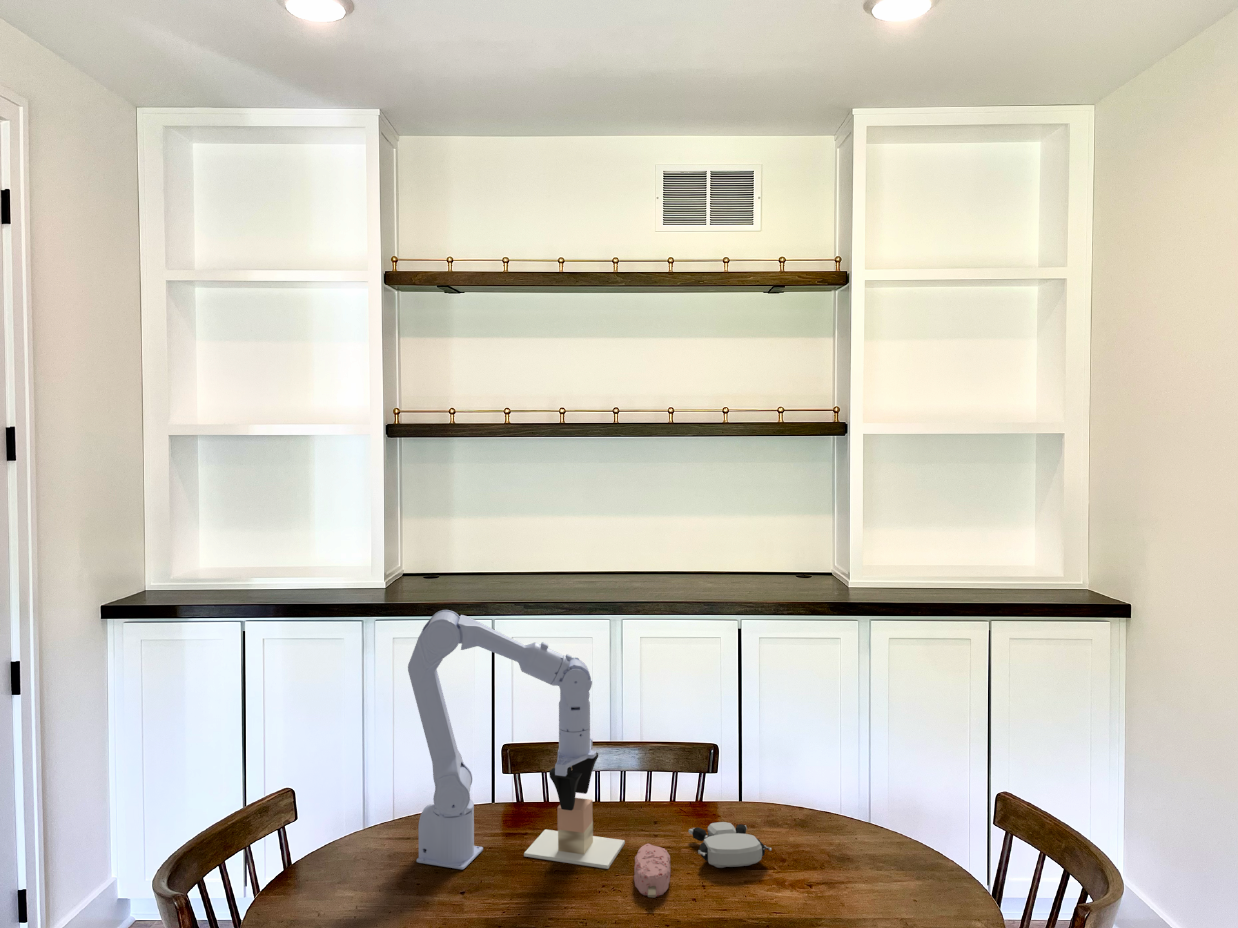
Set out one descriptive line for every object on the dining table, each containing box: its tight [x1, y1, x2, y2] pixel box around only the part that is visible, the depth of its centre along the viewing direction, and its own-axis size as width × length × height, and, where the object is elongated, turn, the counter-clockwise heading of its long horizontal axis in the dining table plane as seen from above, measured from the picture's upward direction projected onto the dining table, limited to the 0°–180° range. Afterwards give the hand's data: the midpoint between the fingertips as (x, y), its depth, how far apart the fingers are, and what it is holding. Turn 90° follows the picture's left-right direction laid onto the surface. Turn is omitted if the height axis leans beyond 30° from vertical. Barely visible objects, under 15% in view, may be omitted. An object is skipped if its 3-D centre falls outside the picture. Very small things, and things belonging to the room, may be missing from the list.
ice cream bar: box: [633, 843, 672, 899], centre depth 144 cm, size 6×4×15 cm
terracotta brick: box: [557, 797, 594, 833], centre depth 156 cm, size 5×5×4 cm
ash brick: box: [557, 820, 594, 854], centre depth 157 cm, size 5×5×4 cm
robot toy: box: [688, 821, 772, 869], centre depth 154 cm, size 12×4×15 cm
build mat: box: [523, 829, 626, 870], centre depth 157 cm, size 16×10×1 cm, turn 73°
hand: (574, 800), depth 157 cm, fingers open, 7 cm apart
